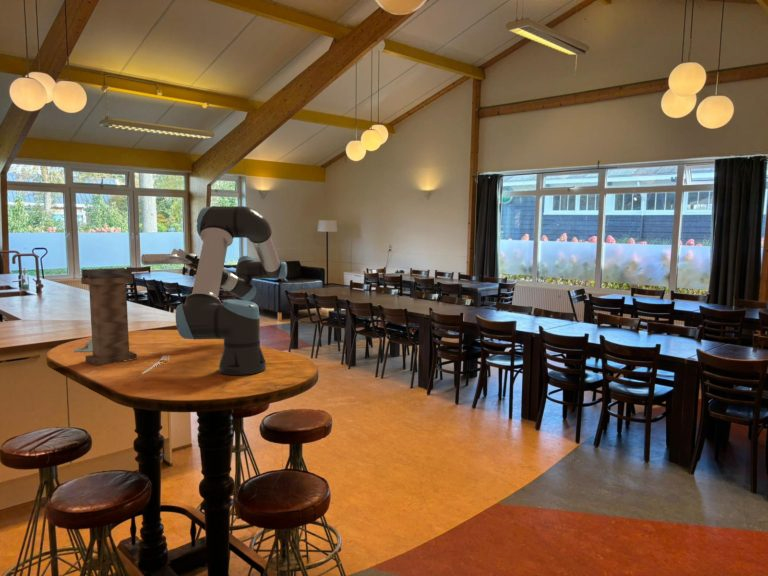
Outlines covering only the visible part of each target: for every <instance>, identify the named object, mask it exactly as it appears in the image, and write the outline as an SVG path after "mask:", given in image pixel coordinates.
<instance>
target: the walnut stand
mask: <svg viewBox="0 0 768 576" xmlns="http://www.w3.org/2000/svg"><path fill="white" fill-rule="evenodd" d="M132 273H133V270H132V268H125V267H116V268H114V267H113V268H112V267H111V268H92V269H90V268H89V269H87V268H86V269H81V278H80V280H81V281H80V283H81V284H82V285H87V286H88V290H89V305H90V306H89V307H90V327H91V339H92V348H93V352H92V354H89V355H87V354H86V355H85V362H86V363H89V364H91V365H93V366H94V367H96V366H102V365H110V364H115V363H114V362H116V363H120V362H119V361H123V362H125V361H124V360H129V359H135V358H137V359H138V356H137V355H138V354H137V352H136V353H135V352H133V351H130V341H129V339H130V338H129V322H128V321H129V319H128V317H129V316H128V300H127V299H128V298H127V284H133V283H134V276H133V274H132ZM135 360H136V359H135ZM129 361H130V360H129ZM109 363H110V364H109Z"/></svg>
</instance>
